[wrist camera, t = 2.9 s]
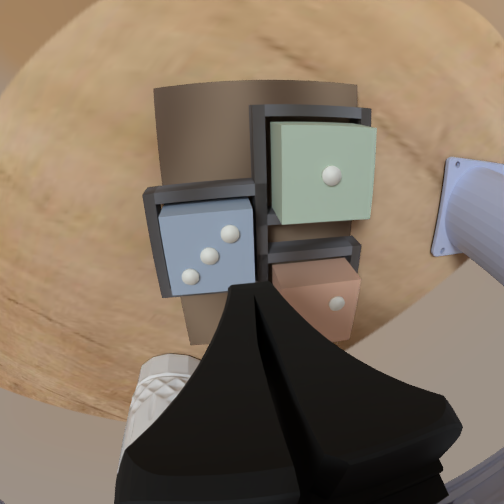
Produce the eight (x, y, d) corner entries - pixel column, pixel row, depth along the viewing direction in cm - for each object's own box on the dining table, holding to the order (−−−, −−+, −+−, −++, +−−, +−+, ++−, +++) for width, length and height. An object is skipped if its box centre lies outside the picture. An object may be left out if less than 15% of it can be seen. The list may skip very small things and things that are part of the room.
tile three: (246, 194, 17) (252, 210, 14) (249, 265, 19) (255, 290, 16) (165, 201, 16) (157, 218, 14) (176, 272, 18) (172, 297, 16)
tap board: (352, 85, 15) (371, 84, 13) (334, 319, 23) (345, 339, 21) (141, 91, 14) (131, 90, 12) (179, 336, 22) (178, 359, 20)
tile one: (353, 123, 15) (378, 128, 12) (349, 202, 17) (371, 220, 14) (270, 121, 14) (282, 125, 12) (271, 207, 16) (282, 226, 14)
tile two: (344, 257, 18) (362, 280, 16) (336, 315, 20) (350, 341, 18) (272, 264, 18) (282, 291, 15) (272, 324, 20) (280, 353, 18)
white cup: (207, 410, 27) (213, 501, 18) (127, 392, 25) (114, 486, 16) (236, 360, 24) (252, 470, 15) (141, 336, 22) (121, 451, 13)
